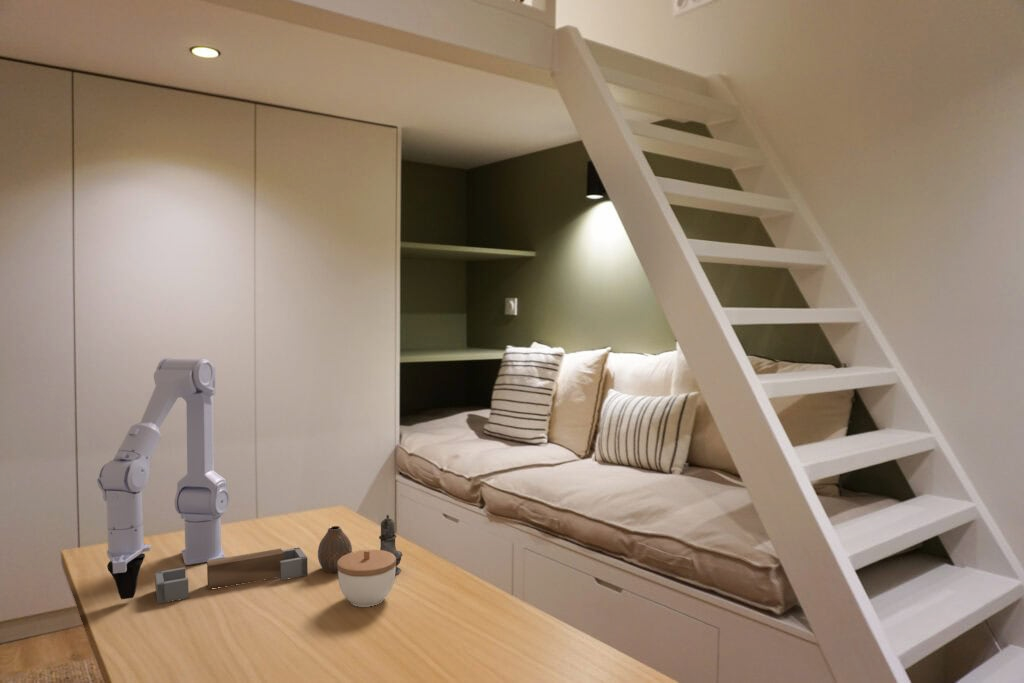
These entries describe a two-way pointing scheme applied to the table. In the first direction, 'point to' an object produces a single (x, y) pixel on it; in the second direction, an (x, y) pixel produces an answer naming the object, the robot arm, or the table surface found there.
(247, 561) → the slat
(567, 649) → the table surface
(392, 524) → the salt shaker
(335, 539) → the vase
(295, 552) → the cap far
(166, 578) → the gray u-shaped clamp
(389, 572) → the lidded jar
